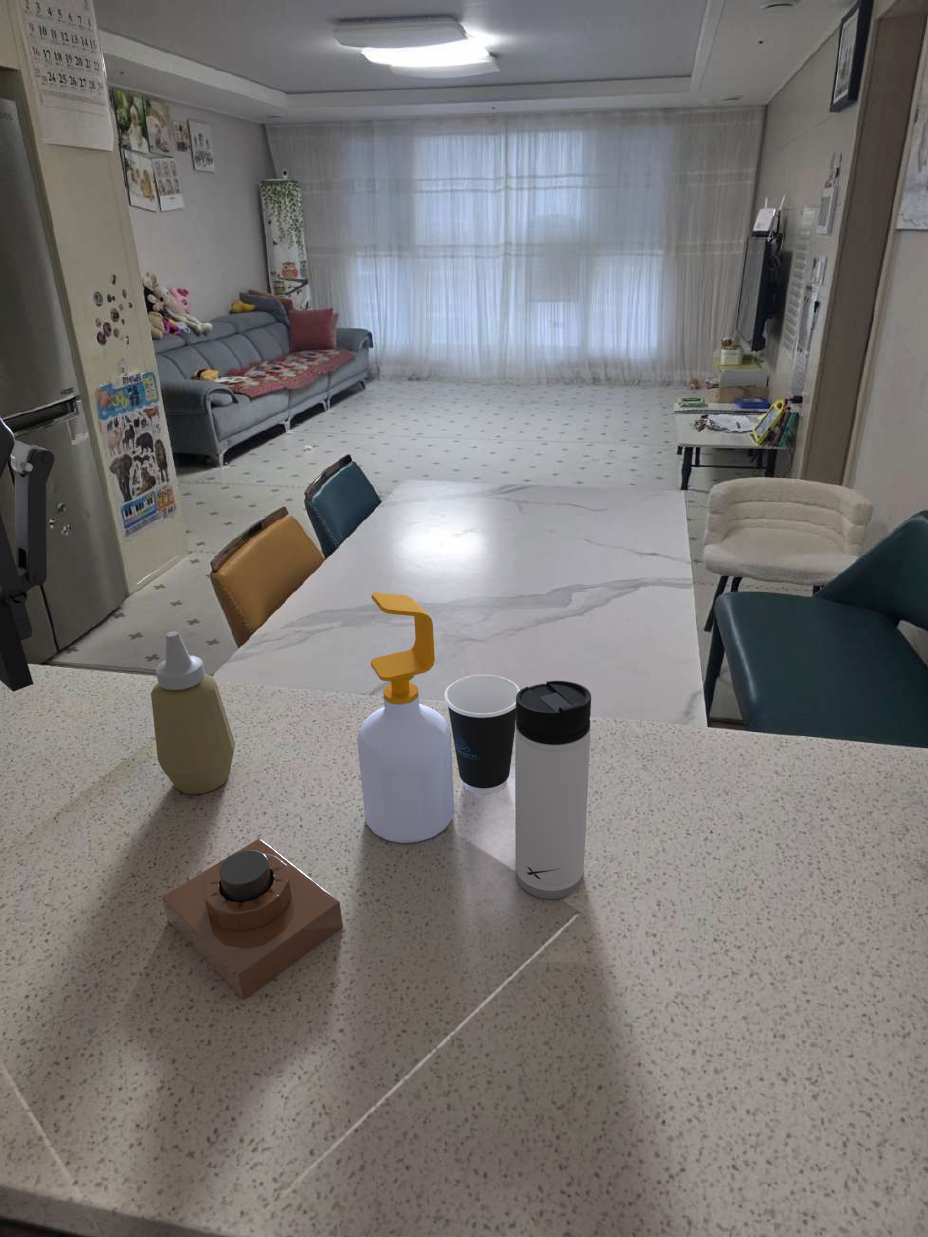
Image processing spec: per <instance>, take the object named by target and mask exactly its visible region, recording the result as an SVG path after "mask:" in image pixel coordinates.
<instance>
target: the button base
mask: <svg viewBox="0 0 928 1237" xmlns="http://www.w3.org/2000/svg"><path fill="white" fill-rule="evenodd" d="M247 850H253V851H258V852H261V853H263V854H264V855H265V856H266V857H267V859H268V863H269V869H270V875H271V885H270V887H269V889H268V890H267V892H266V893H265V894H263V895H262V896H260V897H259V898H257V899H255V900H250V901H246V902H233V901H231V900H229V899H228V898H226V896H225V895H224V893H223V889H222V884H221V879H220V874H219V870H220V867H221V865H222V863H223V862H224V861H225V860H226V859H227V858H228V857H230V856H231V855H233V854H235V853H238V852H241V851H247ZM231 855H229V856H227V857H226V858H224V859H222V860H220V861H219V862H218V863H215V864H214V865H212V866H211V867H209V868H207V869H206V870H204V871H202V872H201V873H199V874H197V875H195V876H194V877H192V878H191V879H189V880H187V881H186V882H184V883H182V884H181V885H179V886H177V887H176V888H173V890H171V891H169V892H167V893H166V894H164V895H162V897H161V900H162V903H163V907H164V912H165V916H166V919H167V923H168V924H169V925H170V926H171V927H172V928H173V929H174V930H175V931H176V932H177V933H178V934H179V935H180V936H181V938H183V939H184V940H185V941H186V942H187V943H188V944H189V945H190V947H192V949H193V950H195V952H196V953H197V954H198V955H199V956H200V957H201V958H202V959H203V960H204V961H205V962H206V963H207V965H209V966H210V967H211V968H212V969H213V970H214V971H215V972H216V973H217V974H218V975H219V977H221V978H222V979H223V981H224V982H226V983H227V985H228V986H229V987H230V988H231V989H232V990H233V991H234V992H235V993H236V994H237V995H238V996H239V997H240V998H241V999H242V1000H243V1001H246V1000H247V999H248V998H249V997H251V996H252V995H254V994H255V993H256V992H257V991H259V990H260V989H262V988H263V987H265V986H266V985H267V984H268V983H270V982H271V981H273V980H274V979H275V978H277V977H278V976H279V975H281V974H282V973H283V972H285V971H286V970H287V969H289V968H290V967H291V966H293V965H294V964H295V963H297V962H298V961H300V960H301V959H302V958H304V957H305V956H307V954H309V953H310V952H312V951H313V950H314V949H316V948H317V947H318V946H320V945H321V944H323V943H324V942H325V941H326V940H328V939H329V938H331V937H332V936H333V935H335V934H336V933H338V932H339V931H340V930H342V929H343V927H344V925H343V917H342V909H341V902H340V901H339V900H338V899H337V898H336V897H334V896H333V895H332V894H331V893H329V892H328V891H327V890H326V889H324V887H322V886H321V885H319V884H318V883H317V882H315V881H314V880H313V879H312V878H311V877H309V876H308V875H306V874H305V873H304V872H303V871H302V870H300V869H299V868H298V867H297V866H295V865H294V864H293V863H292V862H291V861H289V860H288V859H286V857H284V856H283V855H281V854H280V853H279V852H278V851H276V849H274V848H272V847H271V846H270V845H269V844H268V843H267V842H265V841H264V840H263V839H262V838H257V839H256V840H254V841H252V842H250V843H249V844H247V845H245V846H244V847H242V848H240V849H239V850H237V851H236V852H234V853H232V854H231Z"/></svg>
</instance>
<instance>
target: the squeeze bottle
mask: <svg viewBox="0 0 928 1237" xmlns="http://www.w3.org/2000/svg"><path fill="white" fill-rule="evenodd" d="M165 637H166V638H165V639H166V640H165V659H164V660H162V661H161V662H160V663H159V664H158V665H156V668H155V675H156V679H157V683H156V684H155V685H154V686H153V688H152V690H151V693H150V699H151V708H152V717H153V724H154V725H153V728H154V736H155V737H154V738H155V746H156V754H157V761H158V764H159V766H160V768H161V770H162V771H163V773H165V775H166V776H167V778H168V779H169V780H170V782H171V783H172V785H173V786H174V787H175V788H176V790H178V791H180V792H181V793H183V794H189V795H199V794H206V793H209V792H213V791H215V790H216V789H219V788H220V787H221V786H223V785H224V784H225V783H226V782H227V781H228V779H229V778H230V772H231V769H232V768H231V767H232V763H233V758H234V752H235V748H236V742H235V738H234V736H233V732H232V728H231V725H230V722H229V719H228V715H227V713H226V710H225V706H224V702H223V700H222V696H221V693H220V690H219V686H218V683H217V681H216V679H215V678H214V676H212V675H210V674H208V673H206V671H205V666H204V661H203V660H202V659H201V657H198V656H196V655H191V654H189V651H188V649H187V647H186V645H185V643H184V641H183V639H182V637H181V634H180V633H179V632H178V631H176V630H173V631H169V632H167V633H166V636H165Z"/></svg>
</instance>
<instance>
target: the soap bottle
mask: <svg viewBox="0 0 928 1237" xmlns="http://www.w3.org/2000/svg"><path fill="white" fill-rule="evenodd" d="M371 600H372V601H373V602H374V603H375V604H376V606H377V607H378V609H380V611H381V612H383V613H385V614H390V615H398V616H409V617H414V618H413V620H414V637H415V640H414V644H413V646H411V648H410V649H408V650H407V649H406V650H404V651H400V652H395V653H391V654H386V655H381V656H378V657H377V656H376V657H373V658H372V659H371V660H370V666H371V668H372V670H373V671H374V673H375V674H376V676H377V677H378V678H379V680H381V681H384V682H389V684H388V685H386V686H385V687H384V689H383V691H382V692H383V696H382V697H383V706H382V707H380V708H378V709H377V710H375V711H373V713H371V714H370V715H369V716H368V717H366V719H365V720H363V722H362V723H361V726H360V730H359V732H358V735H357V738H356V742H357V743H356V744H357V753H358V754H357V755H358V761H359V772H360V781H361V790H362V800H363V810H364V811H363V812H364V817H365V822H366V825H367V826H368V827H369V829H370V830H371V831H372V833H373V834H375V835H376V836H378V837H379V838H382V839H384V840H385V841H389V842H393V843H400V844H406V843H409V844H410V843H419V842H422V841H426V840H429V839H432V838H434V837H435V836H437V835H438V834H440V833H441V832H443V831H445V829H446V828H447V827H448V825H449V824H450V823H451V821H452V819H453V816H454V811H455V801H454V800H455V798H454V796H455V795H454V776H453V773H454V772H453V751H452V733H451V730H450V728H449V725H448V723H447V721H446V719H445V717H444V716H443V715H442V714H440V713H439V712H438V711H437V710H435V709H433V708H431V707H430V706H427V705H425V704H421V703H420V695H419V689H418V686H417V685H416V684H414V683H413V682H410V681H411V680H412V679H414V677H415V676H416V675H421V674H425V673H427V672H428V671H429V672H430V670H431V669H432V668H433V667H434V664H435V660H436V658H435V640H434V638H435V636H434V623H433V618H432V617H430V615H429V614H428V613H427V612H426V611H425V610H424V609H423V607H421V606H420V605H419V603H418V602H417V601H416V600H415V599H414V598H413V597H411V596H410V595H406V594H397V593H386V592H372V594H371Z"/></svg>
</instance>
